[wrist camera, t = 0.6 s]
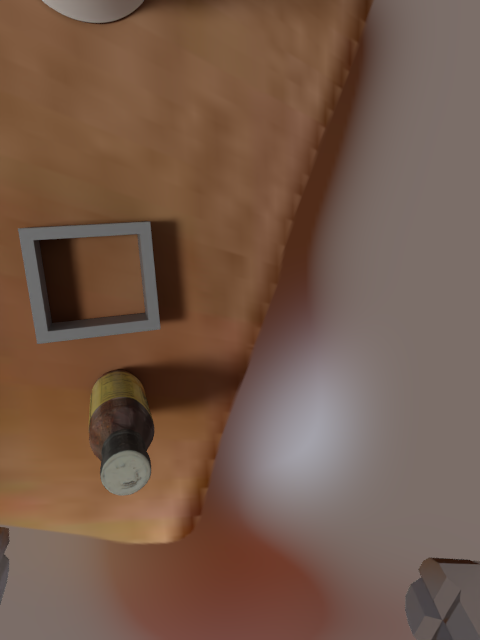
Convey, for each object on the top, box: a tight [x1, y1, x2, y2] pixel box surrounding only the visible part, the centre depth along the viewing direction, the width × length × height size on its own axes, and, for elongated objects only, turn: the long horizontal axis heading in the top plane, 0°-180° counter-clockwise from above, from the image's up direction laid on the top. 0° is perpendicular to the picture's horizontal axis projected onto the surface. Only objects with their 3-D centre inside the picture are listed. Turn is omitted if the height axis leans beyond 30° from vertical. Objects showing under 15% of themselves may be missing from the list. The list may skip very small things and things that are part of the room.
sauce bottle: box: [89, 370, 154, 495], centre depth 45 cm, size 7×6×20 cm
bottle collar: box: [18, 221, 160, 344], centre depth 48 cm, size 12×13×4 cm
